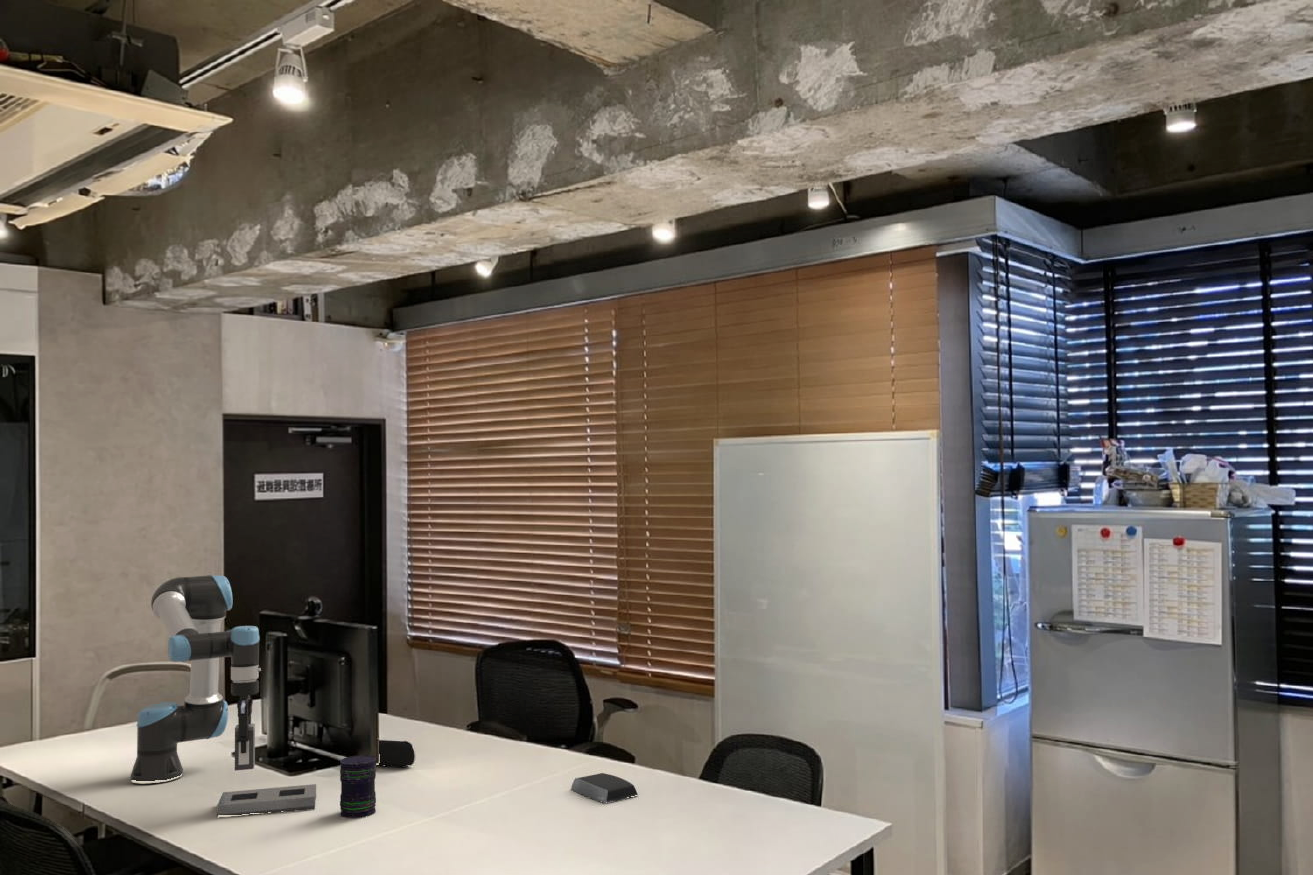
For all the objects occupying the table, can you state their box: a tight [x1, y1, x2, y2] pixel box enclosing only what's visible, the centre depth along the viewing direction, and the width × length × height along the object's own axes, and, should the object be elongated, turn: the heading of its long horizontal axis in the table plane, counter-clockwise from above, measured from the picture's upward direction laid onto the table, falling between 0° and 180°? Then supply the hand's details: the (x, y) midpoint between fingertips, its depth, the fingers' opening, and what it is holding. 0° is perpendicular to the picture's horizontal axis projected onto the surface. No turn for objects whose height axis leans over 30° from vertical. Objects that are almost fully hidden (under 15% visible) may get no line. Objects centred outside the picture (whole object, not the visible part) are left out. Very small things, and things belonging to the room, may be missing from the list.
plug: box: [234, 723, 256, 771], centre depth 302 cm, size 4×5×12 cm
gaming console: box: [378, 738, 417, 767], centre depth 346 cm, size 19×9×2 cm
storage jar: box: [339, 754, 377, 819], centre depth 296 cm, size 10×10×15 cm
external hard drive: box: [570, 772, 639, 804], centre depth 312 cm, size 13×19×4 cm
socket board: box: [216, 783, 317, 817], centre depth 303 cm, size 14×26×4 cm, turn 106°
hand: (244, 761), depth 301 cm, fingers closed on plug, 4 cm apart
